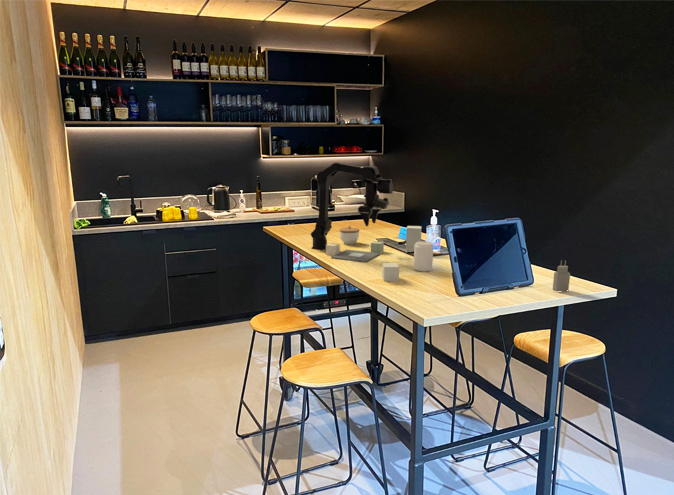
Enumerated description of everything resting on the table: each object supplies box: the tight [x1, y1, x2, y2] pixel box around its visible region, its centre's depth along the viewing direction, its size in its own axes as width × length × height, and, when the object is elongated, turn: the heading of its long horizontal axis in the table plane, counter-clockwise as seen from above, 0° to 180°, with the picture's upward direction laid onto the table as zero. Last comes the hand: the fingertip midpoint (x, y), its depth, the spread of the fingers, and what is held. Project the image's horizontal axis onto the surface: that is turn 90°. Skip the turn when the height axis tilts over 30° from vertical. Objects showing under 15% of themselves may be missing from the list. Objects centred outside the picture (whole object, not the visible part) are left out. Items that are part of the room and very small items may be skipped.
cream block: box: [325, 242, 341, 256], centre depth 247 cm, size 5×5×5 cm
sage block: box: [370, 240, 385, 254], centre depth 252 cm, size 5×5×5 cm
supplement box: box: [405, 225, 423, 253], centre depth 253 cm, size 7×7×13 cm
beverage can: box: [413, 240, 434, 273], centre depth 219 cm, size 8×8×12 cm
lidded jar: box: [339, 225, 360, 245], centre depth 272 cm, size 11×11×9 cm
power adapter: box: [552, 259, 571, 292], centre depth 190 cm, size 3×5×12 cm, turn 106°
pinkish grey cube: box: [381, 262, 400, 282], centre depth 205 cm, size 6×6×6 cm
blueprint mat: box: [330, 249, 381, 263], centre depth 244 cm, size 18×18×1 cm
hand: (370, 224), depth 246 cm, fingers open, 9 cm apart
